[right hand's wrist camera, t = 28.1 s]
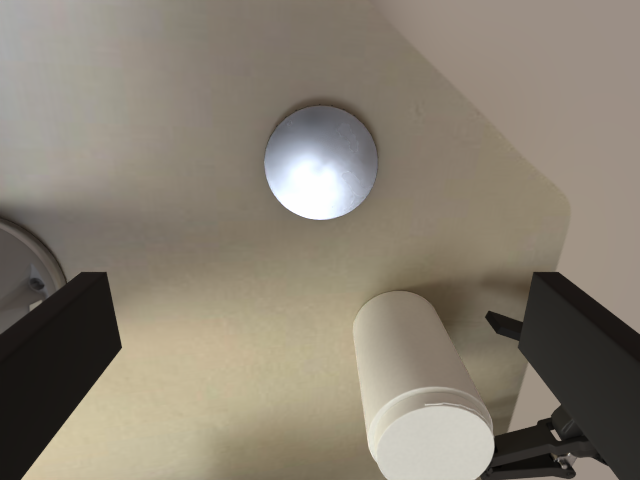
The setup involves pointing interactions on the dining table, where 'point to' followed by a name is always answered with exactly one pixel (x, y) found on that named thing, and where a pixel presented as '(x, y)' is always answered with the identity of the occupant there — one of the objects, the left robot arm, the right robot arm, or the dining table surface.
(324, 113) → the lid
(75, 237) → the dining table surface
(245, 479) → the dining table surface
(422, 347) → the jar
